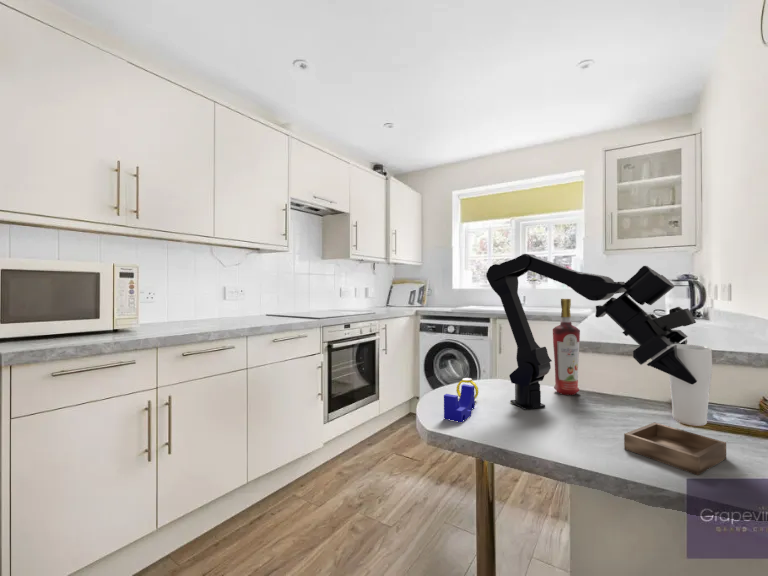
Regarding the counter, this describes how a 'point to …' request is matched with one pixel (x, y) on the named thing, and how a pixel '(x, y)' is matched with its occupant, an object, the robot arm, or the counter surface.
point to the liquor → (566, 352)
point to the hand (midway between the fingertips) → (698, 379)
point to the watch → (467, 380)
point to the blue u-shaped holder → (459, 404)
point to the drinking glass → (692, 385)
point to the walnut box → (676, 447)
